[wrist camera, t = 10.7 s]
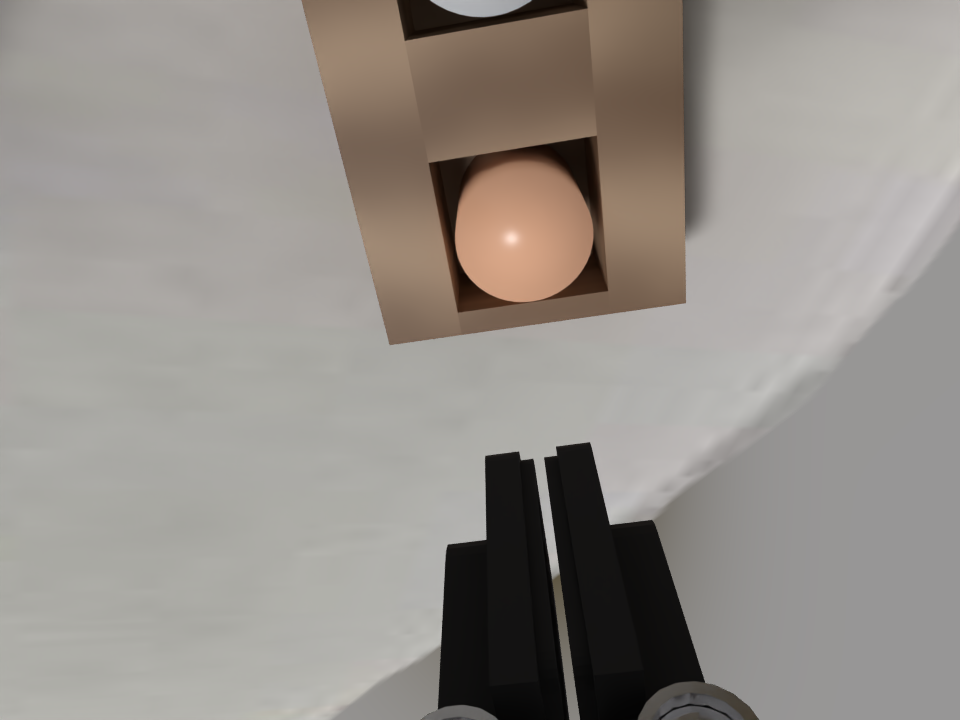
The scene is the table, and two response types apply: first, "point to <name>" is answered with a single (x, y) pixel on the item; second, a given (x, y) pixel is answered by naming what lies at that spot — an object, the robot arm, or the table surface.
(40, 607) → the table surface
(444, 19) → the wooden candle holder
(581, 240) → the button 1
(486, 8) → the button middle
